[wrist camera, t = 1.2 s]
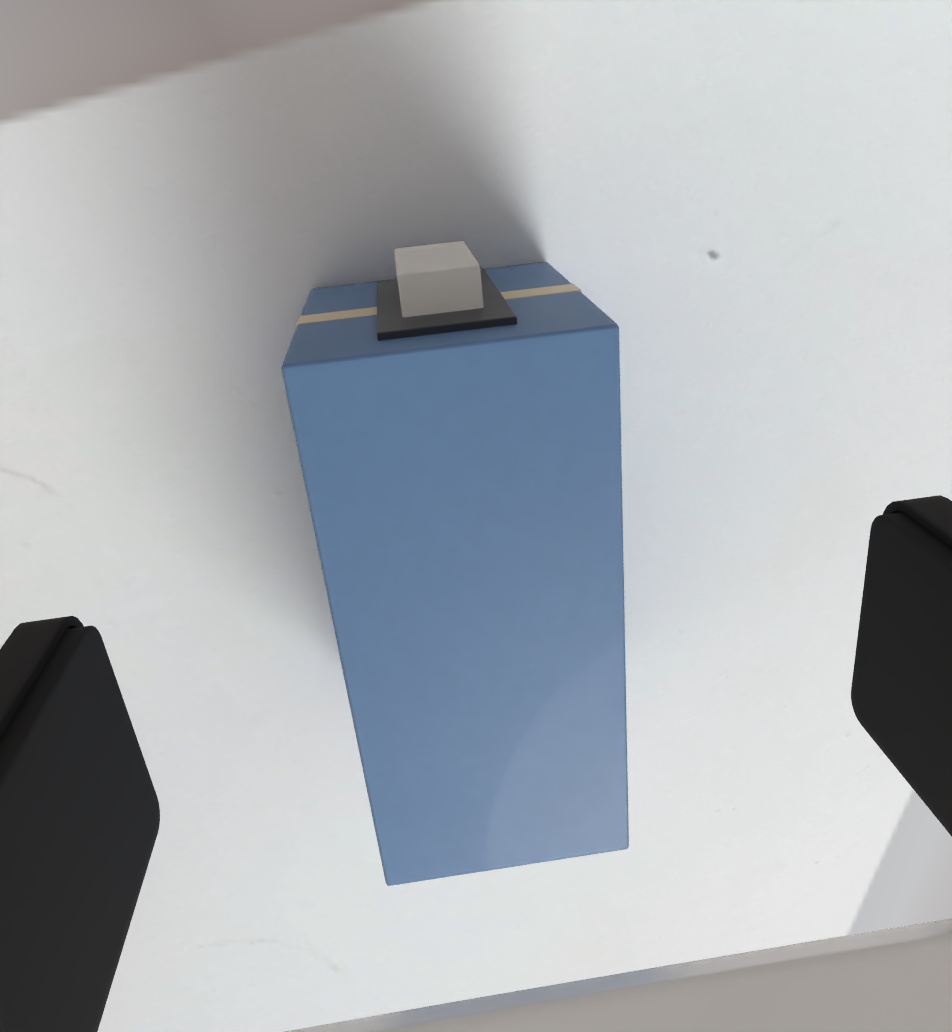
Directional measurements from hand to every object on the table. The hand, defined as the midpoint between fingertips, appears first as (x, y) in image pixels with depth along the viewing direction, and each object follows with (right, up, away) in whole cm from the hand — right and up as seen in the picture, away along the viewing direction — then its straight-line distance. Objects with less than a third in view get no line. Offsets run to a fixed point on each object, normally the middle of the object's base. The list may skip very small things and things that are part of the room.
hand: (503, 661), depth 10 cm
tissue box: (-1, +2, +13) cm, 14 cm away
